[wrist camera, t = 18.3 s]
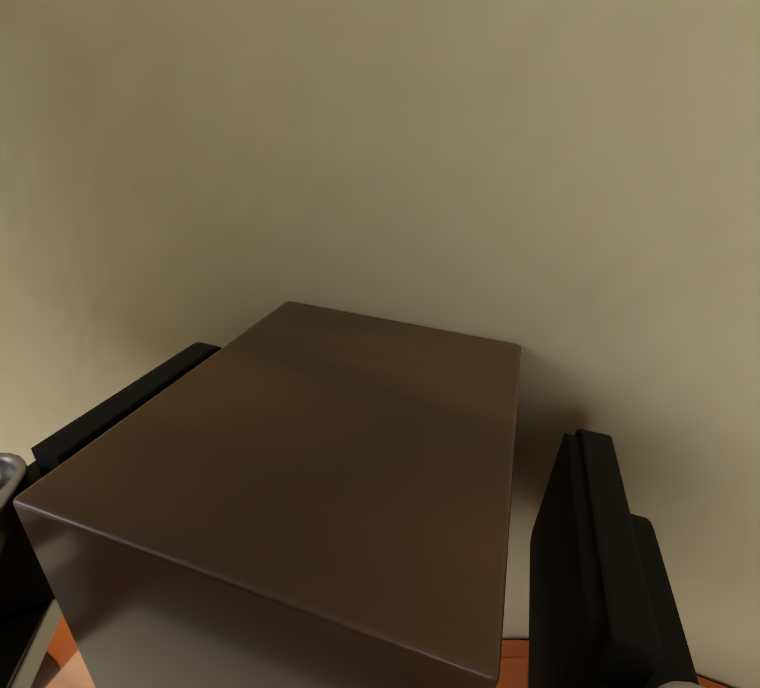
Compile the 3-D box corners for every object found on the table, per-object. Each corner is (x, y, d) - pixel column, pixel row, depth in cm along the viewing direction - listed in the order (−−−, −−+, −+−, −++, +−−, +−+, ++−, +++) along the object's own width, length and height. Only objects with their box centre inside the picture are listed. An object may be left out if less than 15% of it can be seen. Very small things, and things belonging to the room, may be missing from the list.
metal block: (293, 471, 12) (112, 730, 7) (286, 299, 10) (6, 499, 5) (478, 525, 11) (426, 887, 6) (521, 344, 8) (501, 683, 3)
